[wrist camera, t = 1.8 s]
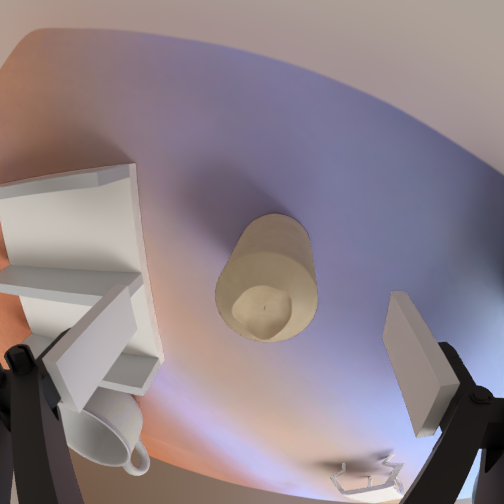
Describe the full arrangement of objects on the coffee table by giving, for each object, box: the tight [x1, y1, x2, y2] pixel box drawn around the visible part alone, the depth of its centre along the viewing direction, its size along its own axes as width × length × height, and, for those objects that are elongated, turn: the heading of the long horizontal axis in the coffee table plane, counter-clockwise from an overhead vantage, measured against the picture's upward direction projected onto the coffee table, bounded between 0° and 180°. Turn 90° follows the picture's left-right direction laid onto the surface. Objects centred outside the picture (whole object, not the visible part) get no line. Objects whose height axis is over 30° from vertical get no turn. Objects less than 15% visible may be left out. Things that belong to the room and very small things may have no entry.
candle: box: [215, 214, 318, 342], centre depth 20 cm, size 6×6×10 cm
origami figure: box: [330, 454, 404, 503], centre depth 32 cm, size 12×8×5 cm
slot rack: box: [0, 163, 165, 396], centre depth 26 cm, size 18×19×6 cm
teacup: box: [57, 386, 150, 476], centre depth 31 cm, size 14×11×8 cm
